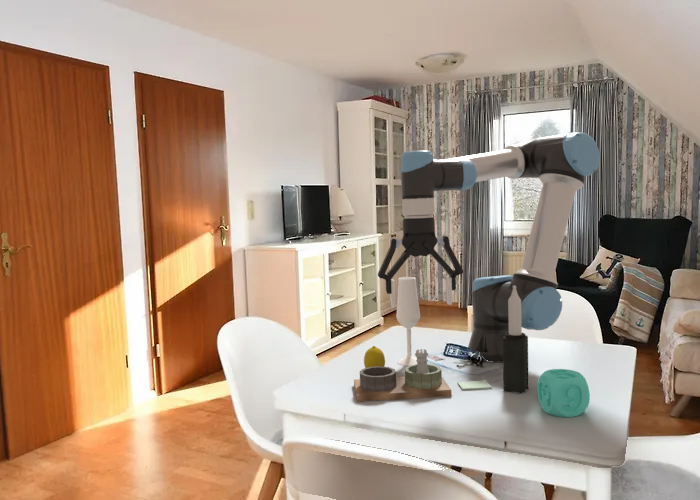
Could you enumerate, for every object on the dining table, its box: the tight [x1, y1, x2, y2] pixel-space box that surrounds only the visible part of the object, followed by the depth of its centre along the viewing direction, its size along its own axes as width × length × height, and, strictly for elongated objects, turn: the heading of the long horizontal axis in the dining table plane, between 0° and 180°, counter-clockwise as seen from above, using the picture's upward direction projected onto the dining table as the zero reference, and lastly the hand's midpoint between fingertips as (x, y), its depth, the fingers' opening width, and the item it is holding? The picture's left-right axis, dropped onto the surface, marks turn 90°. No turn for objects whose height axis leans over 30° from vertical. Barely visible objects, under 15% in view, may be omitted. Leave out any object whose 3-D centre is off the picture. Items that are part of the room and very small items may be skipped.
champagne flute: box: [396, 276, 421, 367], centre depth 167 cm, size 7×7×24 cm
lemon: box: [363, 345, 386, 368], centre depth 156 cm, size 6×6×8 cm
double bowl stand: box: [353, 363, 453, 402], centre depth 144 cm, size 22×12×5 cm, turn 93°
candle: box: [502, 285, 530, 394], centre depth 140 cm, size 5×5×25 cm
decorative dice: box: [536, 368, 591, 418], centre depth 126 cm, size 8×8×8 cm
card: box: [457, 380, 492, 391], centre depth 145 cm, size 7×5×1 cm
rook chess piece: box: [414, 348, 430, 373], centre depth 144 cm, size 4×4×8 cm
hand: (421, 305), depth 142 cm, fingers open, 13 cm apart
